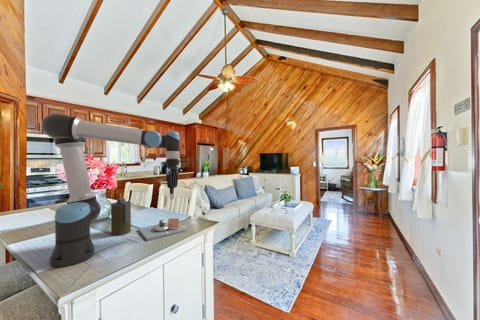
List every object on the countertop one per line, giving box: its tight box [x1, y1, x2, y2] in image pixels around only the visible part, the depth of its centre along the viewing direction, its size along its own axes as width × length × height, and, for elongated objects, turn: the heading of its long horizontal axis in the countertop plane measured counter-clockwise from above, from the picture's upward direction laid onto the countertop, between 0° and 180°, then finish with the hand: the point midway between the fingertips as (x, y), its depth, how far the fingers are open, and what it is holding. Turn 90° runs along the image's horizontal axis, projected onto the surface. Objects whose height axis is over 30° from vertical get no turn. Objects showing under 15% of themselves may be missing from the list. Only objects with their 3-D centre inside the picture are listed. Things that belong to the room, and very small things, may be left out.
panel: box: [137, 224, 187, 242], centre depth 120 cm, size 24×20×2 cm
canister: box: [110, 197, 132, 237], centre depth 117 cm, size 11×10×20 cm
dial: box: [152, 217, 180, 232], centre depth 119 cm, size 15×10×6 cm, turn 92°
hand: (172, 198), depth 115 cm, fingers closed
